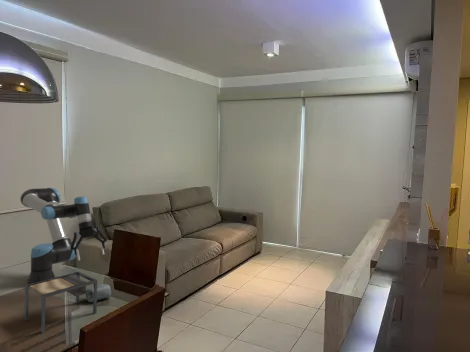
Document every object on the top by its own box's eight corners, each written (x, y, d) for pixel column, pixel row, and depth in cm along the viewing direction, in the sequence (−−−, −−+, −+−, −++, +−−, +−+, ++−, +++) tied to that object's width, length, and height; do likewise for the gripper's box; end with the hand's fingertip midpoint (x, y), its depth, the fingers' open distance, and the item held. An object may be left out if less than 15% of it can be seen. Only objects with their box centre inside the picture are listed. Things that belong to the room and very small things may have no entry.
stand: (77, 302, 193) (78, 271, 191) (96, 313, 182) (97, 280, 181) (24, 320, 171) (25, 285, 170) (42, 333, 160) (42, 295, 159)
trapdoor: (71, 286, 187) (71, 275, 186) (85, 293, 178) (86, 282, 178) (29, 297, 170) (29, 285, 170) (43, 306, 162) (43, 294, 161)
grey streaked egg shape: (88, 300, 188) (90, 281, 193) (82, 303, 195) (84, 284, 199) (112, 301, 197) (114, 283, 201) (106, 303, 203) (108, 286, 207)
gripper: (61, 226, 203) (67, 263, 199) (105, 216, 209) (112, 251, 206) (64, 227, 210) (70, 262, 206) (107, 217, 216) (114, 252, 213)
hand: (91, 257), depth 206 cm, fingers open, 13 cm apart
